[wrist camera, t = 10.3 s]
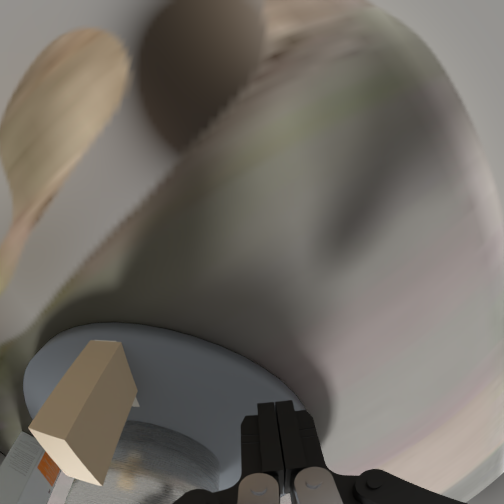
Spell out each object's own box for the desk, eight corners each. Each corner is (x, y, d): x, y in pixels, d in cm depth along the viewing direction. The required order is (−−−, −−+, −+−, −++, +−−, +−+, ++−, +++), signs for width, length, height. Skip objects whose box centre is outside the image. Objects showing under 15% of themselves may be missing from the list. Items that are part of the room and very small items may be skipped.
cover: (122, 480, 17) (104, 549, 9) (73, 411, 15) (29, 497, 7) (228, 488, 18) (229, 569, 9) (205, 423, 15) (195, 544, 7)
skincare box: (63, 468, 21) (36, 535, 9) (37, 456, 20) (7, 518, 9) (48, 442, 19) (11, 517, 7) (20, 428, 19) (-19, 496, 7)
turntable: (96, 484, 21) (80, 536, 12) (-6, 314, 14) (-73, 370, 6) (301, 496, 21) (313, 558, 13) (326, 312, 15) (394, 430, 7)
